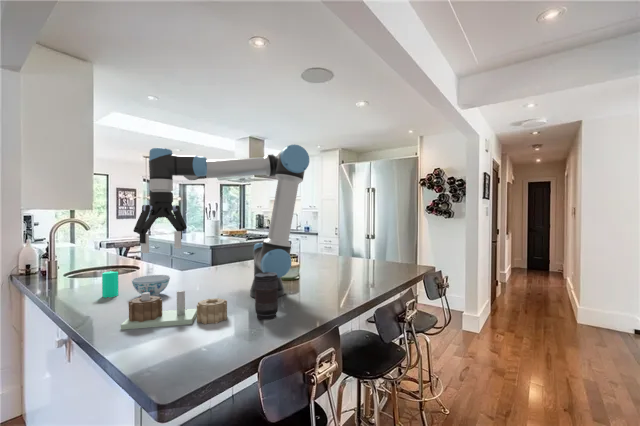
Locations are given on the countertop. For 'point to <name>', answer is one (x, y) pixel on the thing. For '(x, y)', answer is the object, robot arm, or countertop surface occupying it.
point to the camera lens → (266, 295)
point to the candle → (109, 284)
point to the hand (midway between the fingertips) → (162, 250)
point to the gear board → (165, 315)
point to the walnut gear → (145, 309)
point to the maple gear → (212, 310)
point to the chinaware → (151, 284)
